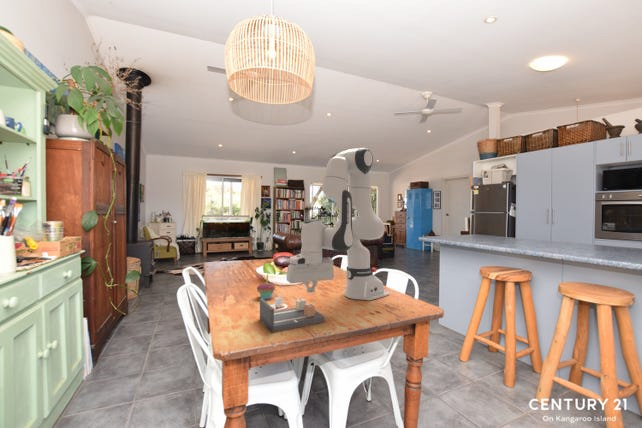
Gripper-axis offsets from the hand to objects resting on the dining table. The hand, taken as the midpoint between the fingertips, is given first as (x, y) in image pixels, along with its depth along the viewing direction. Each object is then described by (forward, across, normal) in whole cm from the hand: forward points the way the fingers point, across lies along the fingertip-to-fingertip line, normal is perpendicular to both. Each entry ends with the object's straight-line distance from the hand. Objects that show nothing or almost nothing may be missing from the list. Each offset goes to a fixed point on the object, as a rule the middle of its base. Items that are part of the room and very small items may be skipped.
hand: (310, 292), depth 118 cm
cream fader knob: (+6, +4, 0) cm, 8 cm away
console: (+9, +10, +4) cm, 14 cm away
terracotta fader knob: (+6, +4, +8) cm, 11 cm away
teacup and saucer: (+9, +11, -16) cm, 21 cm away
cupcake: (+9, +10, -28) cm, 31 cm away
